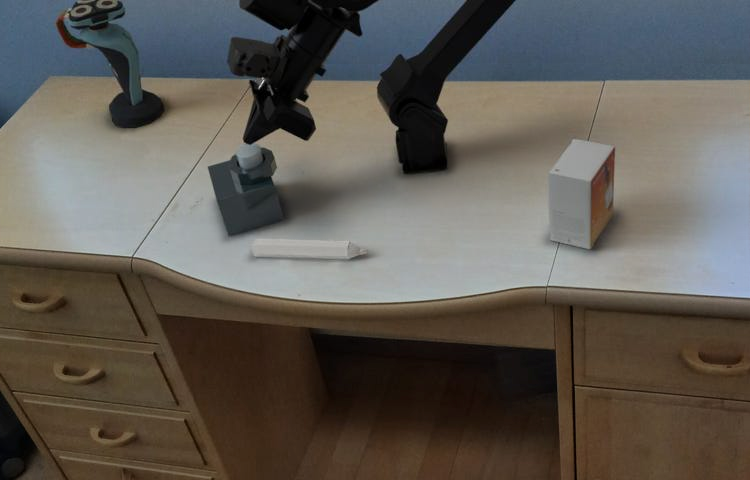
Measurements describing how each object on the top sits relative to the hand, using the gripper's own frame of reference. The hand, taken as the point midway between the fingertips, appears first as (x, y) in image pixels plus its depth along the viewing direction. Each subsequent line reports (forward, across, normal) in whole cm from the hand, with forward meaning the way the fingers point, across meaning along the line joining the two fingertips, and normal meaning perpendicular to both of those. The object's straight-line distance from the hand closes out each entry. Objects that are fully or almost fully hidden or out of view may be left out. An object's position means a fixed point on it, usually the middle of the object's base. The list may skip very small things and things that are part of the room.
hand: (246, 142), depth 125 cm
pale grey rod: (+5, +14, +11) cm, 18 cm away
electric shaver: (+19, -37, -4) cm, 42 cm away
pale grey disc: (+2, 0, +2) cm, 3 cm away
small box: (-19, +24, +34) cm, 46 cm away
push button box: (+9, 0, +6) cm, 11 cm away
